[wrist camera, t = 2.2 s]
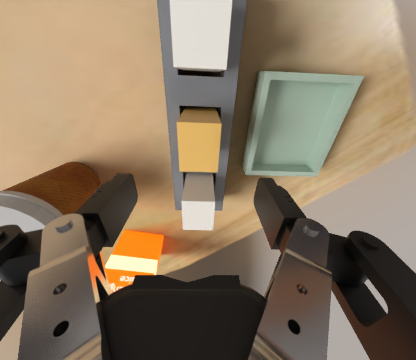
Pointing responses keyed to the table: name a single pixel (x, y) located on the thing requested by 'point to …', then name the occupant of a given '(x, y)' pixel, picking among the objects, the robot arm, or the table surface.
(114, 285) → the orange juice
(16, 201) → the disposable coffee cup
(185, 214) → the fuse
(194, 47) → the fuse
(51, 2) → the table surface
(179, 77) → the rack
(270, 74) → the tray
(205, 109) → the tan rectangular block
